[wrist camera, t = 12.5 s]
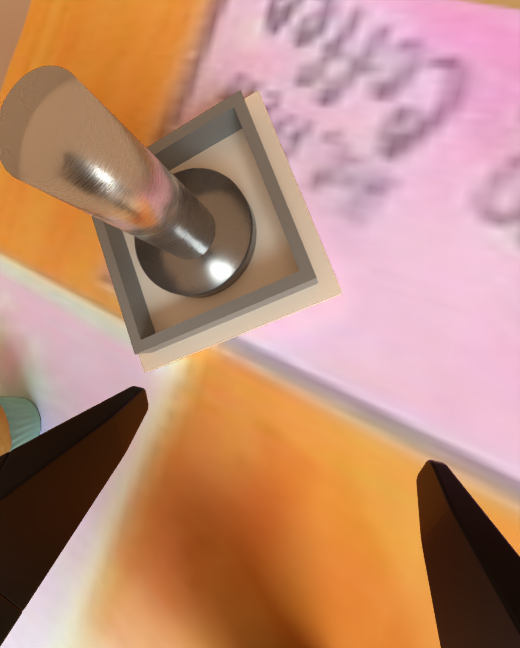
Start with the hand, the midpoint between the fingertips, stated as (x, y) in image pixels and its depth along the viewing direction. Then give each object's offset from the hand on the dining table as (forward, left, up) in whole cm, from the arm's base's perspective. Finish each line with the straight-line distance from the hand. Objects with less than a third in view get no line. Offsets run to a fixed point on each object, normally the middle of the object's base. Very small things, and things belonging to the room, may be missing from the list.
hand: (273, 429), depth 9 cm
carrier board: (-4, +12, -11) cm, 17 cm away
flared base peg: (-4, +12, -10) cm, 17 cm away
